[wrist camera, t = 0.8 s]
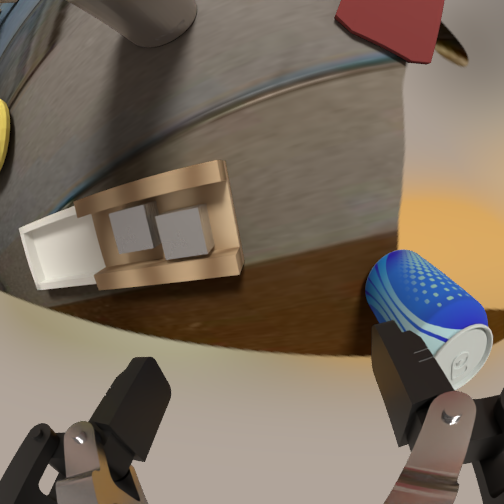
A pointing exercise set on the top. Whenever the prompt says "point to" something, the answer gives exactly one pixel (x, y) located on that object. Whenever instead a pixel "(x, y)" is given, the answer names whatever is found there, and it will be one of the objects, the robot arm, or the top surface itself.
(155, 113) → the top surface
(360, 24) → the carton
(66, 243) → the tray
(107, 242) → the slot board
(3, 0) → the planter
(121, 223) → the chip
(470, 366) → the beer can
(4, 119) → the vase
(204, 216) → the chip
